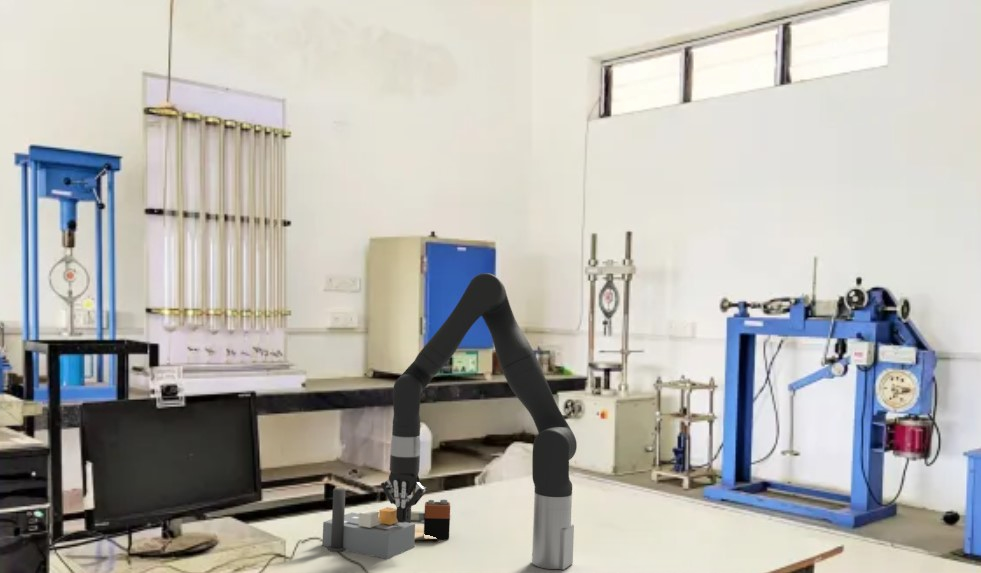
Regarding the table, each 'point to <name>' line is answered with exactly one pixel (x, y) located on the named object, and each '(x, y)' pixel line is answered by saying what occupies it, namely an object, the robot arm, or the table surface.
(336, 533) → the post
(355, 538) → the box
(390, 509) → the toggle orange
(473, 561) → the table surface
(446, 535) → the battery
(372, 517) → the white ridged block
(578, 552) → the table surface
